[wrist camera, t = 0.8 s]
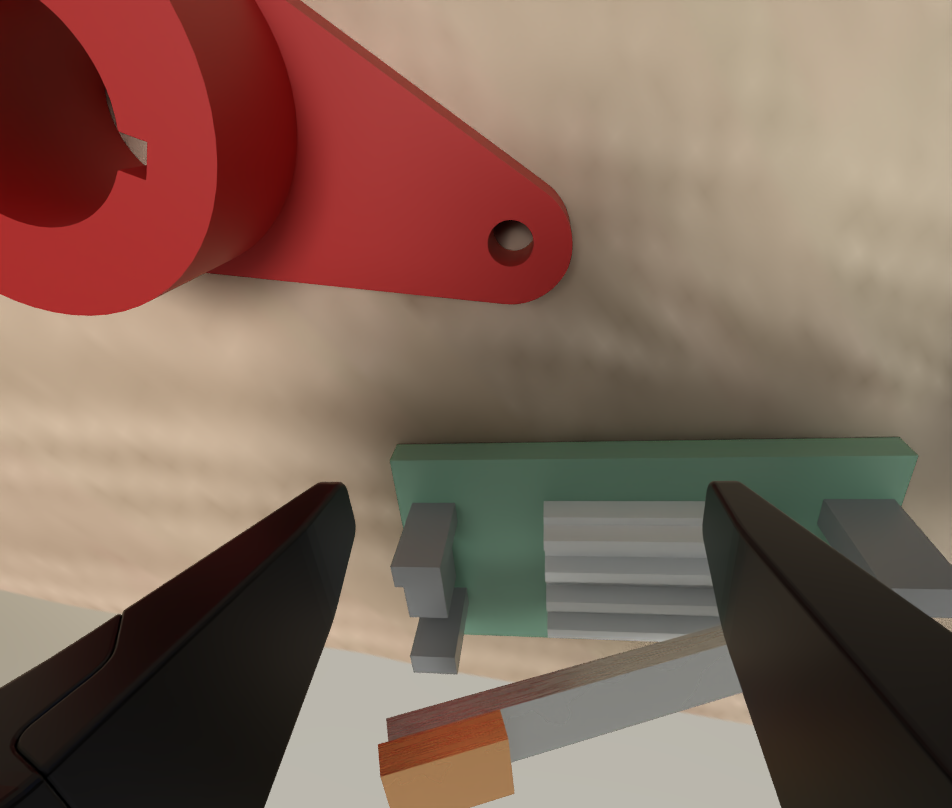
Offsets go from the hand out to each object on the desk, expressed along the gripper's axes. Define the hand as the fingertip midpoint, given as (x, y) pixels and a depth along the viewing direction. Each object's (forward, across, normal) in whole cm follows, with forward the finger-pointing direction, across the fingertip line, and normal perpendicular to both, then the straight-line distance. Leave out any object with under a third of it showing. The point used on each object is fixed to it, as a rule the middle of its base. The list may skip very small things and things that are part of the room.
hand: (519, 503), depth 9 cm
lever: (+12, +7, -5) cm, 15 cm away
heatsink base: (+12, -3, +12) cm, 17 cm away
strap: (+6, -3, +11) cm, 13 cm away
